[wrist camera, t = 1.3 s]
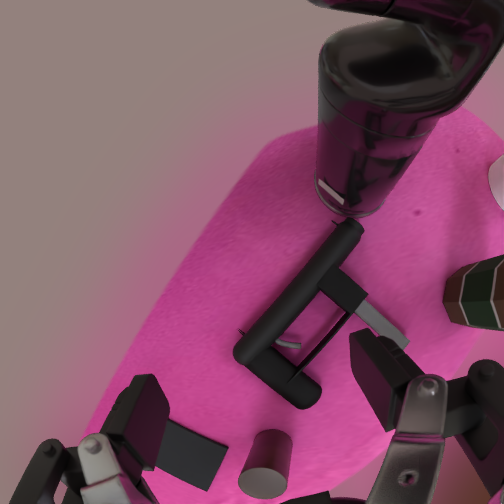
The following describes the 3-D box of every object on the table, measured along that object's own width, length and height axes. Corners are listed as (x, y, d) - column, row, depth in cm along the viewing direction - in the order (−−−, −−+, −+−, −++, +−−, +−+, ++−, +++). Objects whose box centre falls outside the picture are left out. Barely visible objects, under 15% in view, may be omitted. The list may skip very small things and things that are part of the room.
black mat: (161, 414, 31) (160, 415, 30) (228, 447, 28) (227, 448, 28) (148, 459, 30) (147, 461, 29) (208, 490, 27) (206, 491, 27)
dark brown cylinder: (262, 424, 28) (247, 461, 20) (298, 436, 27) (295, 476, 18) (248, 451, 28) (231, 490, 19) (283, 462, 27) (275, 504, 18)
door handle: (442, 299, 25) (340, 205, 28) (325, 435, 24) (216, 348, 28) (429, 299, 28) (335, 213, 31) (323, 422, 28) (224, 342, 31)
